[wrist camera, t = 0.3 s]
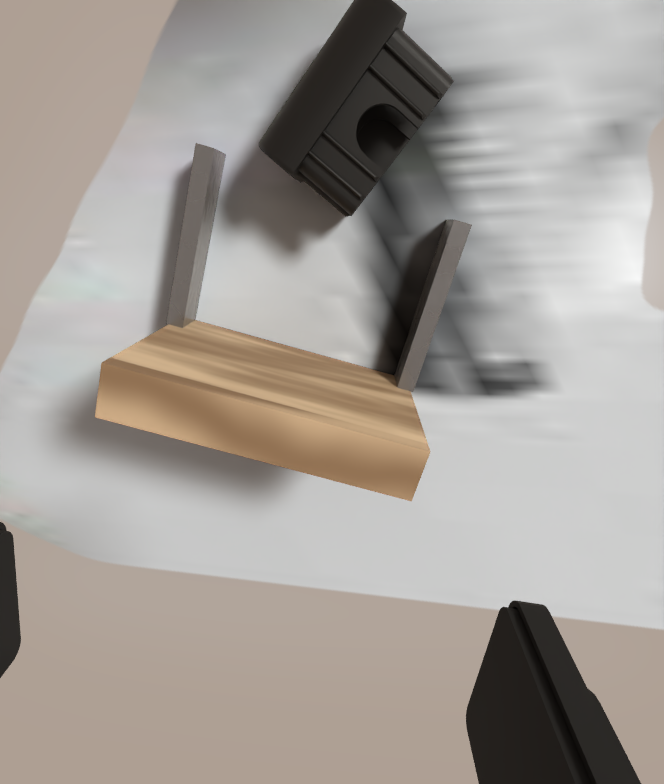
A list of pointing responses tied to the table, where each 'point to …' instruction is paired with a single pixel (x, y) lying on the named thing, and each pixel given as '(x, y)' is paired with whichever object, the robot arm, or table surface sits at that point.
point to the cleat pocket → (197, 243)
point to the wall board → (268, 405)
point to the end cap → (356, 105)
